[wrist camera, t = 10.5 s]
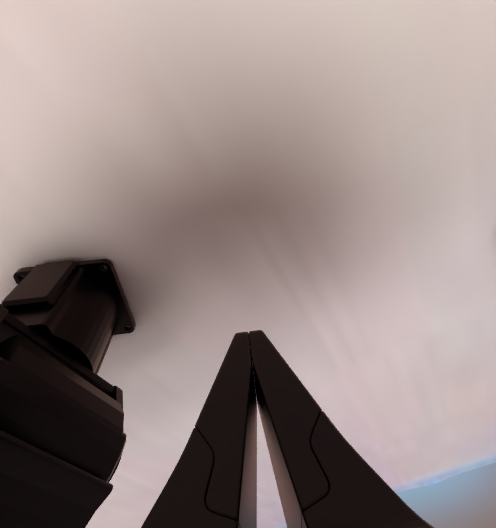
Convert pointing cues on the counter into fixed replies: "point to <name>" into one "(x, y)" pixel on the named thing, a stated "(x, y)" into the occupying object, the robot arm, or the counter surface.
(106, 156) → the counter surface
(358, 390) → the counter surface
